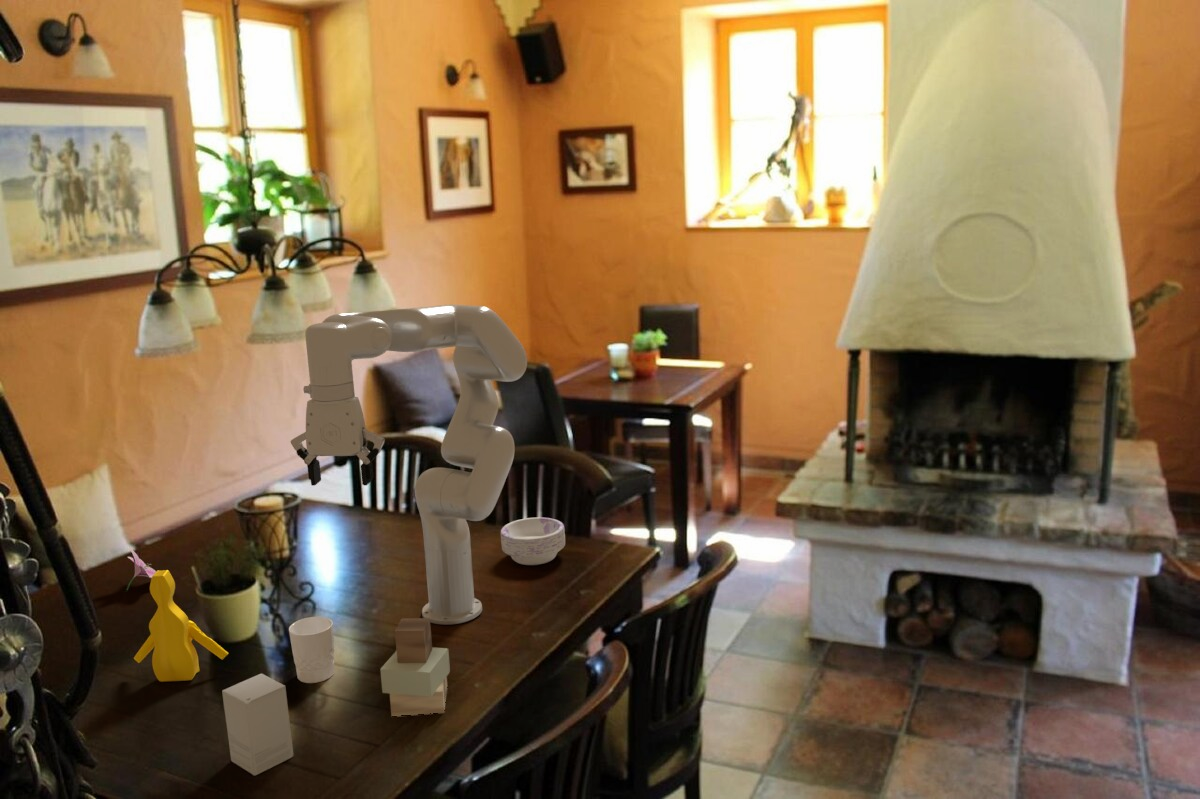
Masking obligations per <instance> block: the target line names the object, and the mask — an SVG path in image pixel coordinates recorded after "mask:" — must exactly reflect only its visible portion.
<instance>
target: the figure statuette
mask: <svg viewBox="0 0 1200 799" xmlns="http://www.w3.org/2000/svg"><path fill="white" fill-rule="evenodd" d="M155 571H156V573H155V574H154V575H153V576H152V578H150V584H149V592H150V595H151V596H152V598H153V601H155V603H156V605H157V609H156V612H155V613H154V615H153V617H152V618H151V619H150V621H149V623H148V630H149V632H150V635H149V636H148V637H147V639H146V640H145V642H144V643H143V644H142V645H141V647H140V649H139V650H138V652H136V654H135V655H134V657H133V659H134V660H133V661H136V662H137V663H138V664H139V663H141V662H142V661H143V660H144V659H145V658H147V656H148V654H149V653H150V652H151V651H152V650H153V653H152V658H151V659H152V660H151V663H152V664H151V665H152V669H153V670H152V671H153V672H154V675H155V678H156V679H157V680H158V681H159V682H161V683H162V682H182V681H184V682H185V681H192V680H193V679H194V677H195V676H196V674H197V673H199V672H200V666H199V656H198V653H197V649H196V647H195V646H194V644H193V642H192V641H193V640H194V641H196V643H198V644H200V645H201V646H203V648H205V649H207V650H208V651H209V652H210V653H212V654H214V655H215V656H217V657H218V658H219V659H221V660H224V659H225V658H226V657H227V656H228V655H229V652H228V651H227V650H225V649H224V648H223V647H222V646H221V645H219V644H218V643H217V642H216V641H215V640H213V639H212V638H211V637H209V636H207V635H206V634H205V633H204V632H203V631H202V630H201V629H200V627H199V626H197V623H195V622H194V621H192V620H190V619H189V617H188V615H187V614H186V613H185V612H184V611H183V610H182V609H181V608H180V606H178V605H177V604H176V603H175V602H174V600H173V599H174V598H173V597H174V594H175V590H176V582H175V579H174V577H173V576H172V574H171V572H170V571H169V570H168V569H166V570H164V569H163V570H161V569H160V570H155Z"/></svg>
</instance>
